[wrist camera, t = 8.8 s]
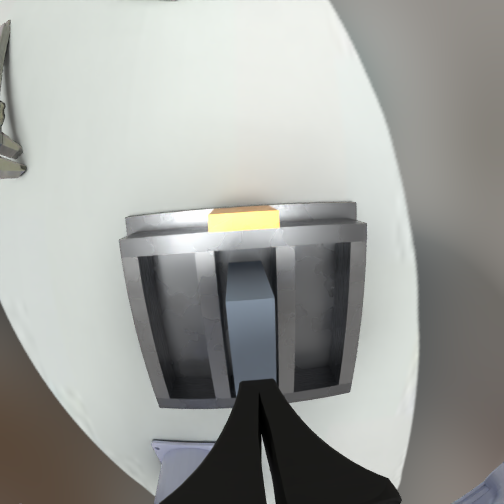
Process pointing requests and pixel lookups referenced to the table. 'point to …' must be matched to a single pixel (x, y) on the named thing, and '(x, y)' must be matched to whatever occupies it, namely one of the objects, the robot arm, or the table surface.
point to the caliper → (3, 143)
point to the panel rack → (214, 296)
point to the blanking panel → (250, 322)
